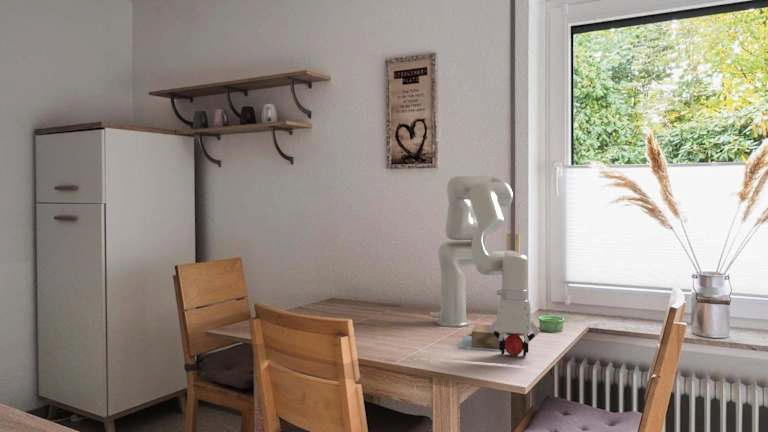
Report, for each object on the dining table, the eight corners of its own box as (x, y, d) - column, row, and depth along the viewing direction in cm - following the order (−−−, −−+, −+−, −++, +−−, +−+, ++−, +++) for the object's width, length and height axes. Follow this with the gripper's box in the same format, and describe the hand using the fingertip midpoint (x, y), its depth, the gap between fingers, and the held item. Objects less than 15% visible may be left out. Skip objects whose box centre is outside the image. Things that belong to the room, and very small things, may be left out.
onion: (501, 354, 178) (501, 329, 178) (519, 354, 178) (520, 328, 178) (507, 360, 172) (507, 333, 172) (526, 359, 173) (526, 333, 172)
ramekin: (565, 333, 206) (565, 321, 206) (539, 332, 208) (539, 320, 207) (562, 327, 215) (562, 315, 214) (537, 326, 216) (537, 315, 216)
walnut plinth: (471, 346, 186) (471, 331, 185) (476, 339, 195) (476, 324, 195) (503, 349, 183) (503, 333, 182) (506, 341, 192) (506, 326, 192)
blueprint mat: (457, 350, 184) (457, 348, 184) (465, 338, 199) (465, 336, 199) (515, 355, 179) (515, 352, 179) (519, 342, 194) (519, 339, 194)
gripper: (484, 295, 173) (483, 355, 174) (543, 298, 168) (542, 360, 169) (487, 291, 180) (486, 348, 181) (544, 294, 175) (543, 352, 176)
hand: (513, 353), depth 175 cm, fingers closed on onion, 5 cm apart
